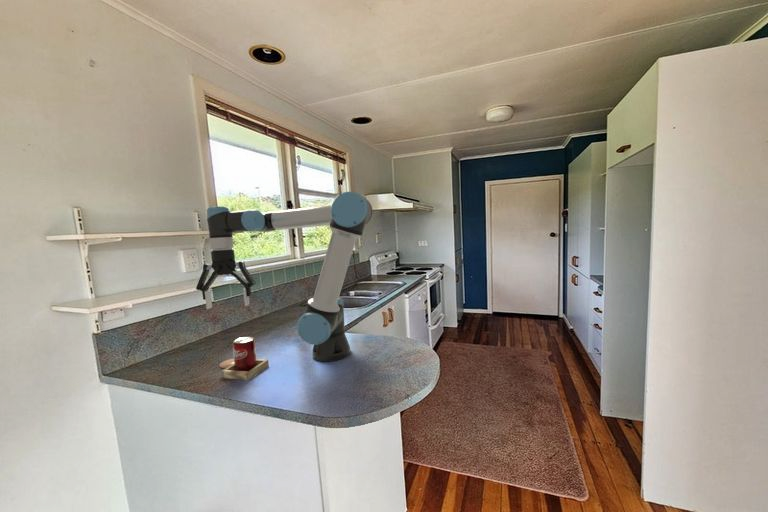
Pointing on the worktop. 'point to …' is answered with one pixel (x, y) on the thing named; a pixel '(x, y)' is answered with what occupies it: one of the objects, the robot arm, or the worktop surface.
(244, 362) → the soda can
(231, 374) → the frame
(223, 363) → the coaster
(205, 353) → the worktop surface
